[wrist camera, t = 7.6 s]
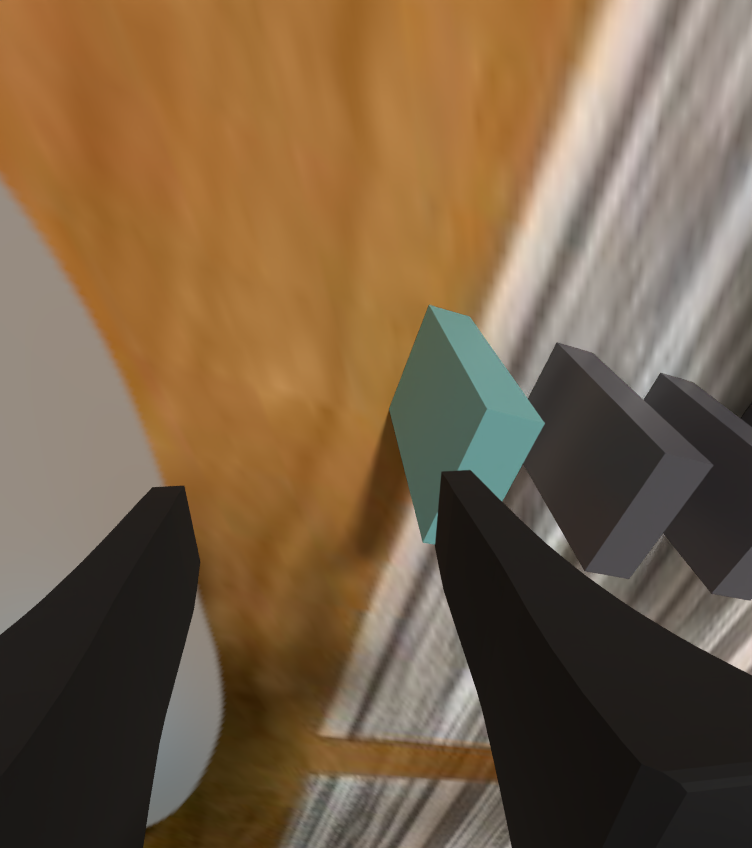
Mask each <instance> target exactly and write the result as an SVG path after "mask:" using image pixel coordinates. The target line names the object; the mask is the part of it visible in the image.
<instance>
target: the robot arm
mask: <svg viewBox="0 0 752 848" xmlns="http://www.w3.org/2000/svg"><path fill="white" fill-rule="evenodd" d="M435 549H436V554H437V559H438V565H439V570H440V575H441V580H442V584H443V589H444V593H445V596H446V599H447V602H448V605H449V608H450V611H451V614H452V617H453V621H454V624H455V627H456V630H457V633H458V636H459V639H460V642H461V645H462V648H463V651H464V654H465V657H466V660H467V663H468V666H469V669H470V672H471V675H472V678H473V681H474V684H475V687H476V690H477V694H478V697H479V701H480V704H481V708H482V711H483V715H484V720H485V724H486V729H487V733H488V737H489V742H490V746H491V751H492V755H493V759H494V764H495V769H496V773H497V778H498V783H499V787H500V792H501V797H502V801H503V806H504V811H505V816H506V820H507V825H508V830H509V836H510V841H511V846H512V848H752V675H750V674H748V673H746V672H744V671H742V670H740V669H738V668H736V667H734V666H732V665H730V664H728V663H727V662H725V661H723V660H721V659H719V658H717V657H715V656H713V655H711V654H709V653H707V652H706V651H704V650H702V649H700V648H698V647H696V646H695V645H693V644H691V643H689V642H687V641H686V640H684V639H682V638H680V637H678V636H677V635H675V634H673V633H672V632H670V631H668V630H667V629H665V628H663V627H662V626H660V625H658V624H657V623H655V622H654V621H652V620H650V619H649V618H647V617H645V616H644V615H642V614H640V613H639V612H637V611H636V610H634V609H633V608H631V607H630V606H628V605H627V604H625V603H624V602H622V601H621V600H619V599H618V598H616V597H615V596H613V595H612V594H611V593H609V592H608V591H606V590H605V589H604V588H602V587H601V586H599V585H598V584H597V583H595V582H594V581H592V580H591V579H590V578H588V577H587V576H586V575H584V574H583V573H582V572H580V571H579V570H578V569H576V568H575V567H574V566H573V565H571V564H570V563H569V562H568V561H567V560H565V559H564V558H563V557H562V556H560V555H559V554H558V553H557V552H556V551H554V550H553V549H552V548H551V547H550V546H548V545H547V544H546V543H545V542H544V541H543V540H542V539H541V538H539V537H538V536H537V535H536V534H535V533H534V532H533V531H532V530H531V529H530V528H529V527H528V526H527V525H525V524H524V523H523V522H522V521H521V520H520V519H519V518H518V517H517V516H516V515H515V514H514V513H513V512H512V511H511V510H510V509H509V508H508V507H507V506H506V505H505V504H504V503H503V502H502V501H501V500H500V499H499V498H498V497H497V496H496V495H495V494H494V493H493V492H492V491H491V490H490V489H489V488H488V487H487V486H486V485H485V484H484V483H483V482H482V481H481V480H480V479H479V478H478V477H477V476H476V475H475V474H474V473H473V472H472V471H471V470H459V471H441V481H440V493H439V505H438V516H437V528H436V539H435ZM199 568H200V558H199V554H198V549H197V544H196V539H195V535H194V530H193V525H192V520H191V515H190V511H189V506H188V501H187V496H186V492H185V487H184V486H168V487H152V488H151V490H150V491H149V492H148V493H147V494H146V495H145V496H144V497H143V498H142V499H141V500H140V501H139V502H138V503H137V504H136V505H135V506H134V507H133V509H132V510H131V511H130V512H129V513H128V514H127V515H126V516H125V517H124V518H123V519H122V520H121V521H120V523H119V524H118V525H117V526H116V527H115V528H114V529H113V530H112V531H111V532H110V533H109V535H107V537H106V538H105V539H104V540H103V541H102V542H101V543H100V544H99V545H98V546H97V547H96V548H95V549H94V550H93V551H92V552H91V553H90V554H89V555H88V556H87V557H86V558H85V559H84V560H83V562H81V563H80V564H79V565H78V566H77V567H76V568H75V569H74V570H73V571H72V572H71V573H70V574H69V575H68V576H67V577H66V578H65V579H64V580H63V581H62V582H60V583H59V584H58V585H57V586H56V587H55V588H54V589H53V590H52V591H51V592H50V593H49V594H48V595H47V596H46V597H45V598H44V599H42V600H41V601H40V602H39V603H38V604H37V605H36V606H35V607H33V608H32V609H31V610H30V611H29V612H27V614H25V615H24V616H23V617H22V618H20V619H19V620H18V621H17V622H16V623H14V624H13V625H12V626H11V627H10V628H8V629H7V630H6V631H5V632H3V633H2V634H1V635H0V848H143V844H144V837H145V830H146V824H147V817H148V810H149V804H150V797H151V791H152V785H153V779H154V773H155V767H156V760H157V754H158V749H159V743H160V739H161V734H162V730H163V725H164V721H165V716H166V713H167V709H168V705H169V701H170V698H171V694H172V690H173V687H174V683H175V679H176V675H177V672H178V668H179V664H180V660H181V657H182V653H183V649H184V646H185V642H186V638H187V634H188V630H189V626H190V622H191V619H192V614H193V610H194V605H195V598H196V591H197V584H198V576H199Z"/></svg>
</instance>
